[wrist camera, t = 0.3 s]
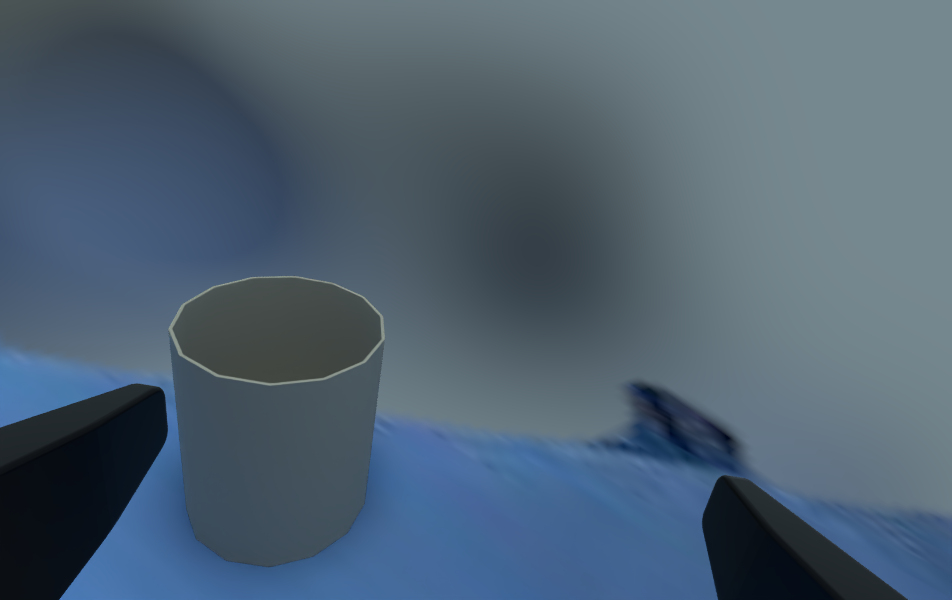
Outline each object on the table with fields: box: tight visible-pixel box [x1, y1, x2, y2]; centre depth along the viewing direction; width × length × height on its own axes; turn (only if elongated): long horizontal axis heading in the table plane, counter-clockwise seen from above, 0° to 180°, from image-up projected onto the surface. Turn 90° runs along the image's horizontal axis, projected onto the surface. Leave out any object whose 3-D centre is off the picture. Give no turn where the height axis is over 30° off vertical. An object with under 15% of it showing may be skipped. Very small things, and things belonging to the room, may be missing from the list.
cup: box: [168, 276, 385, 567], centre depth 25 cm, size 8×8×10 cm
